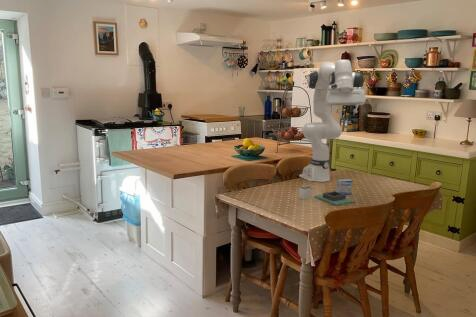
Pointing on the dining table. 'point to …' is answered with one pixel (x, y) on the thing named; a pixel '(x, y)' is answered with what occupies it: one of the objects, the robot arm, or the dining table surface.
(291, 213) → the dining table surface
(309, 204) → the dining table surface
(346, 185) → the medicine box
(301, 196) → the keyed plug
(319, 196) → the header board
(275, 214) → the dining table surface
